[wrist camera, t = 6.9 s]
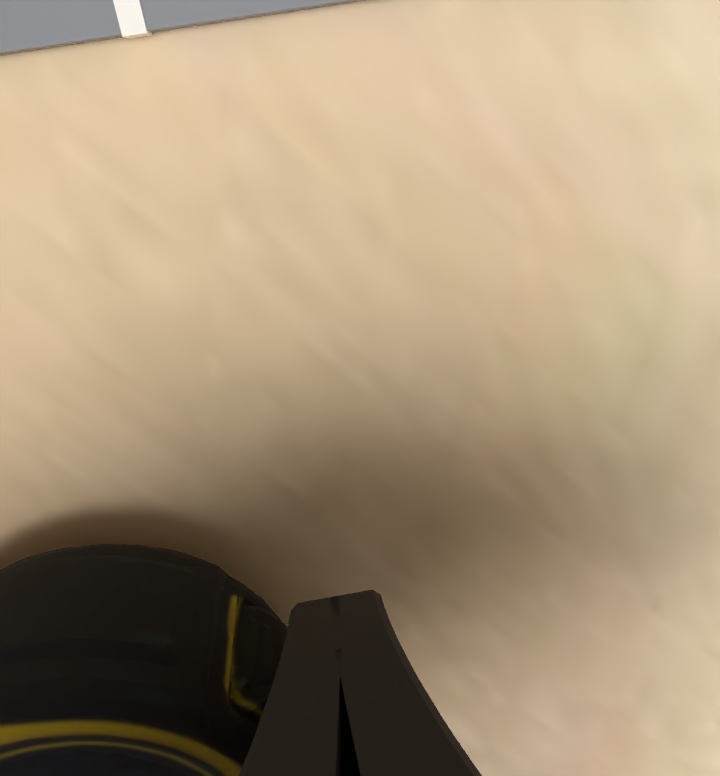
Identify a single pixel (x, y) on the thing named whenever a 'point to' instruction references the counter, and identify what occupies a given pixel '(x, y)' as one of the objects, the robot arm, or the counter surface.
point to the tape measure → (130, 664)
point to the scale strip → (122, 18)
